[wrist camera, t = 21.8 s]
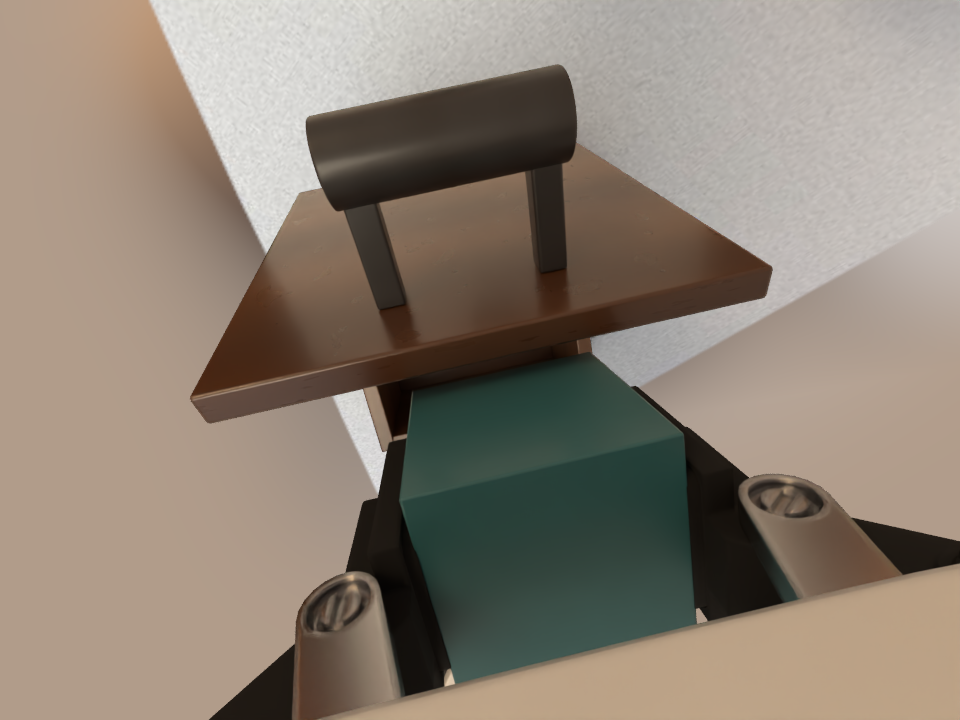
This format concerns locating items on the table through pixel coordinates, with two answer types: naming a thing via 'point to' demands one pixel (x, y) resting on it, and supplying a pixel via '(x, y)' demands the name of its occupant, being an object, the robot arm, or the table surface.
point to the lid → (459, 249)
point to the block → (546, 514)
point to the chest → (395, 397)
